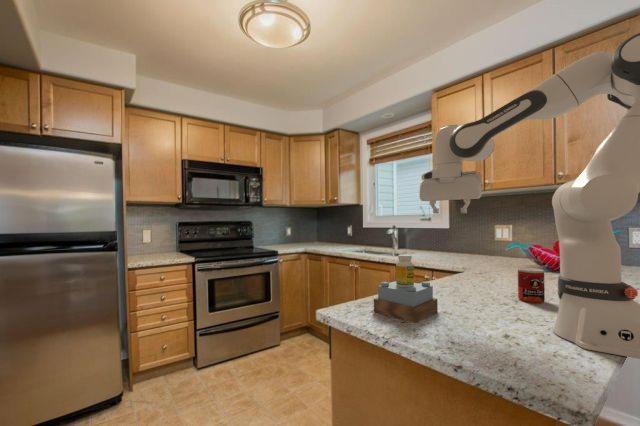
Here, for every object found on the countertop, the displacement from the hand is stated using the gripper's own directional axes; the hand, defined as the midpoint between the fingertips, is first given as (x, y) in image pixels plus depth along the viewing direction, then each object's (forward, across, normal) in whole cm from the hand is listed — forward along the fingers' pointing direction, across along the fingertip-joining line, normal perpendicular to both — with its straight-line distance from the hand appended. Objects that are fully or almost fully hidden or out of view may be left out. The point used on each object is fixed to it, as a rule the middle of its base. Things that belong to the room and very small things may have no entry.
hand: (449, 213), depth 104 cm
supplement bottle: (+23, +6, +20) cm, 31 cm away
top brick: (+27, +6, +20) cm, 34 cm away
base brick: (+31, +6, +20) cm, 37 cm away
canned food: (+31, -19, -22) cm, 42 cm away
